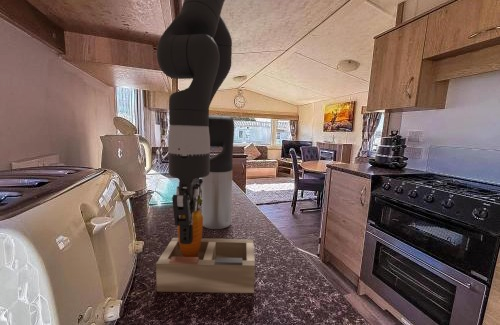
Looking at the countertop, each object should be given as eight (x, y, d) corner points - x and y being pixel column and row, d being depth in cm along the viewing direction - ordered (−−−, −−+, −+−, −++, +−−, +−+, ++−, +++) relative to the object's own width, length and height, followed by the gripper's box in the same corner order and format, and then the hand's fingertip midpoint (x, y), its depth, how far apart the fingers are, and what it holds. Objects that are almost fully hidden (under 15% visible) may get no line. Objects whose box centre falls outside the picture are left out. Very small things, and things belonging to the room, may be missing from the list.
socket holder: (173, 260, 50) (172, 235, 50) (252, 262, 51) (253, 237, 50) (156, 291, 41) (155, 261, 40) (253, 292, 41) (255, 262, 41)
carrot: (192, 255, 49) (192, 188, 47) (207, 265, 46) (208, 193, 44) (172, 266, 45) (171, 193, 43) (187, 276, 42) (186, 199, 40)
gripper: (180, 146, 49) (180, 221, 51) (154, 154, 35) (156, 256, 37) (214, 147, 49) (213, 221, 52) (202, 155, 35) (202, 256, 38)
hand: (189, 235), depth 44 cm, fingers closed on carrot, 5 cm apart
